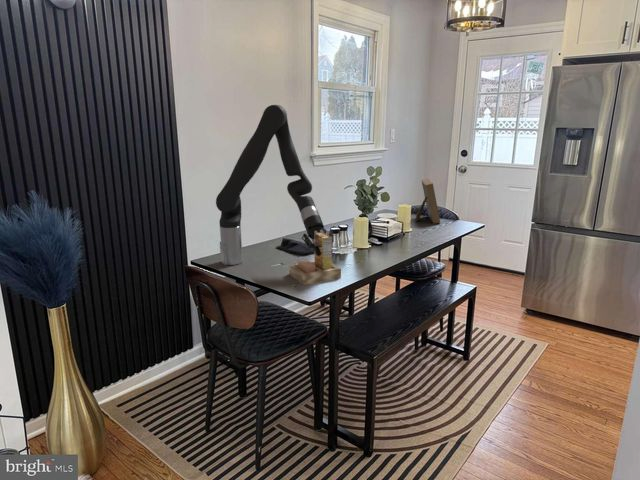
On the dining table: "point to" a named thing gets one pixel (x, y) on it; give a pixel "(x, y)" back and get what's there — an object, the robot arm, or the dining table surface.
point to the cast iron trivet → (295, 247)
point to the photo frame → (429, 202)
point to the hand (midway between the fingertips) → (325, 254)
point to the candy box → (323, 251)
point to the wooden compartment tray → (314, 274)
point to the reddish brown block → (306, 266)
